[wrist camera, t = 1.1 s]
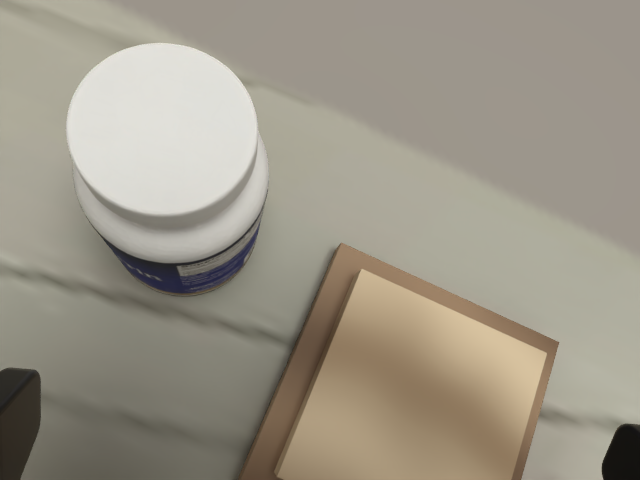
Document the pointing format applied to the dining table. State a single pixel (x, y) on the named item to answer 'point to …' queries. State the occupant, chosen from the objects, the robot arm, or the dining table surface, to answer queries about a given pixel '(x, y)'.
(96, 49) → the dining table surface
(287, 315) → the dining table surface
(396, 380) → the stand
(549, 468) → the dining table surface
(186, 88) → the pill bottle
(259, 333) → the dining table surface
